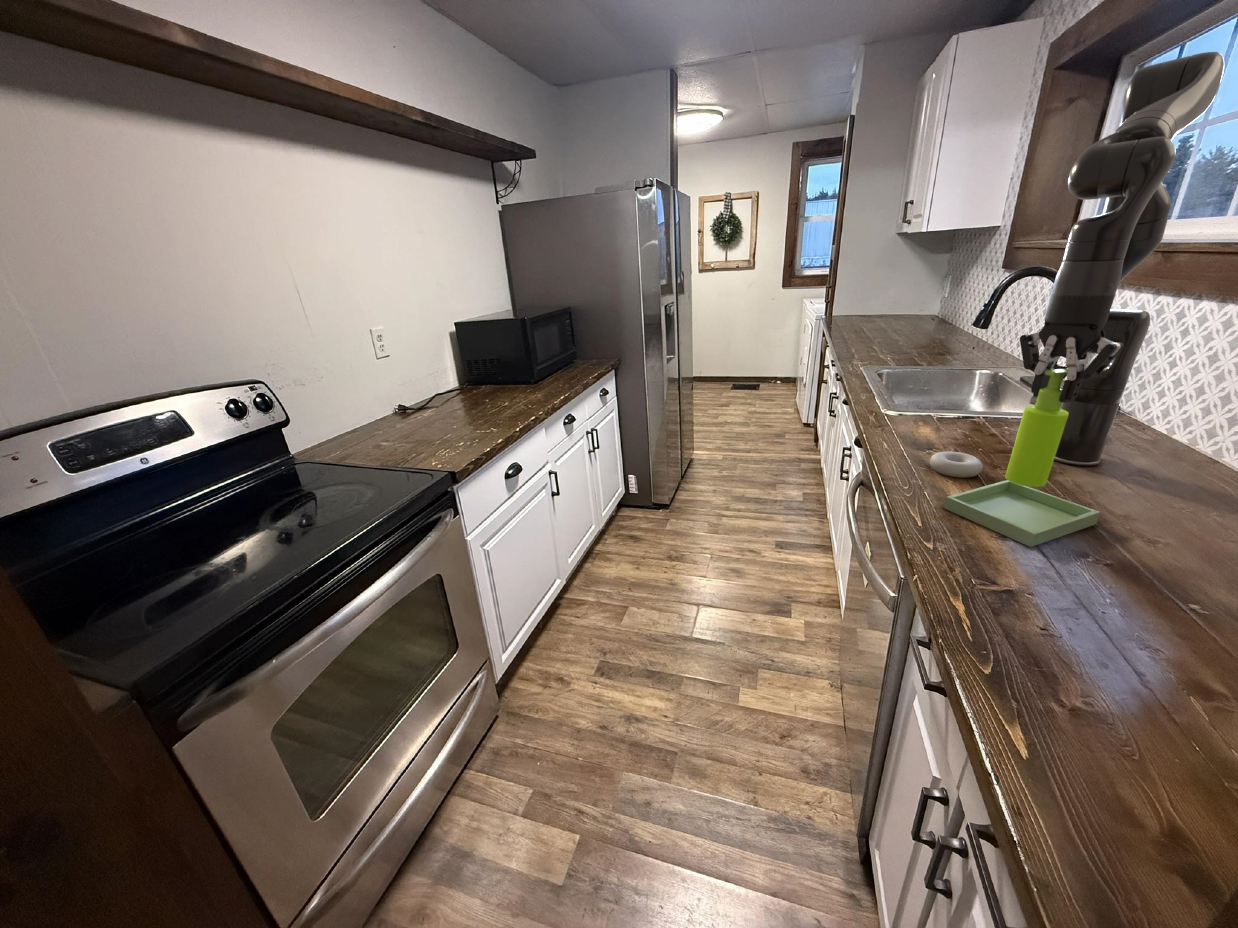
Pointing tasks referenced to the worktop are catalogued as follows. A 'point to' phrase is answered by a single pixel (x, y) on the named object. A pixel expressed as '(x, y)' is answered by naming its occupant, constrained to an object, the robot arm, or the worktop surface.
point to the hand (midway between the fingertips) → (1051, 398)
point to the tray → (1021, 512)
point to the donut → (956, 464)
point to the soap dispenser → (1039, 435)
